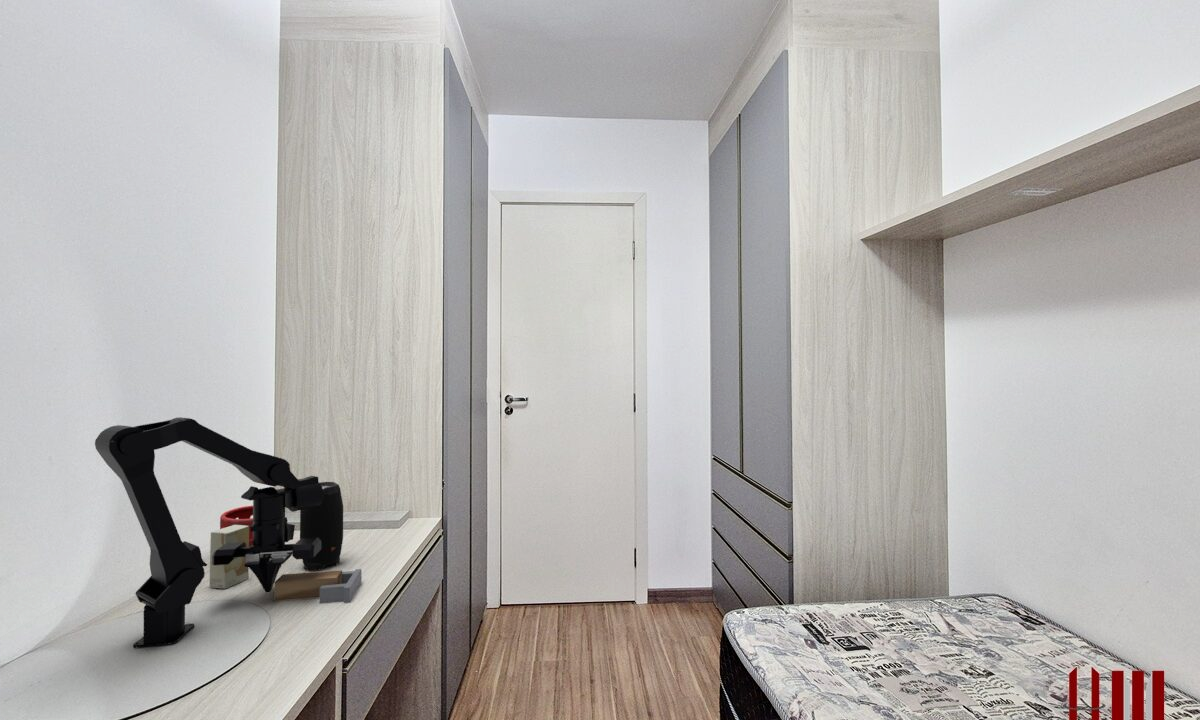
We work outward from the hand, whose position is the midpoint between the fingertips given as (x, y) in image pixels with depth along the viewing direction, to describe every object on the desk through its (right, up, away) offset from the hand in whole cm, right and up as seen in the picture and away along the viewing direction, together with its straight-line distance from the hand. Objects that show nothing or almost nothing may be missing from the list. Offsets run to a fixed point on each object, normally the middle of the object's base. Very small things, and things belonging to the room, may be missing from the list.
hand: (268, 591), depth 109 cm
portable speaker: (+1, -2, +19) cm, 19 cm away
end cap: (+14, -2, +3) cm, 14 cm away
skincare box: (-14, -2, +8) cm, 16 cm away
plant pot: (-19, -2, +24) cm, 30 cm away
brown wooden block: (+7, -2, +2) cm, 8 cm away
